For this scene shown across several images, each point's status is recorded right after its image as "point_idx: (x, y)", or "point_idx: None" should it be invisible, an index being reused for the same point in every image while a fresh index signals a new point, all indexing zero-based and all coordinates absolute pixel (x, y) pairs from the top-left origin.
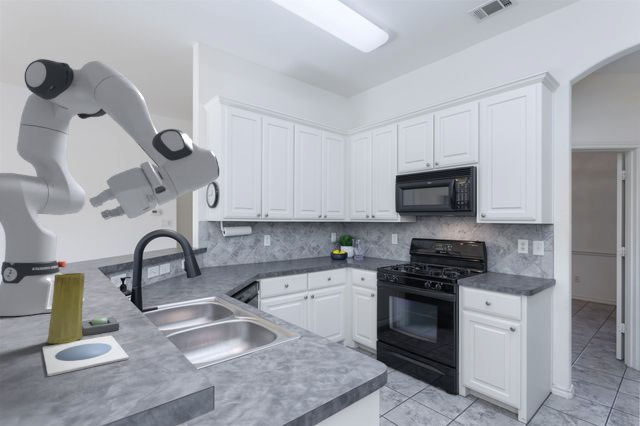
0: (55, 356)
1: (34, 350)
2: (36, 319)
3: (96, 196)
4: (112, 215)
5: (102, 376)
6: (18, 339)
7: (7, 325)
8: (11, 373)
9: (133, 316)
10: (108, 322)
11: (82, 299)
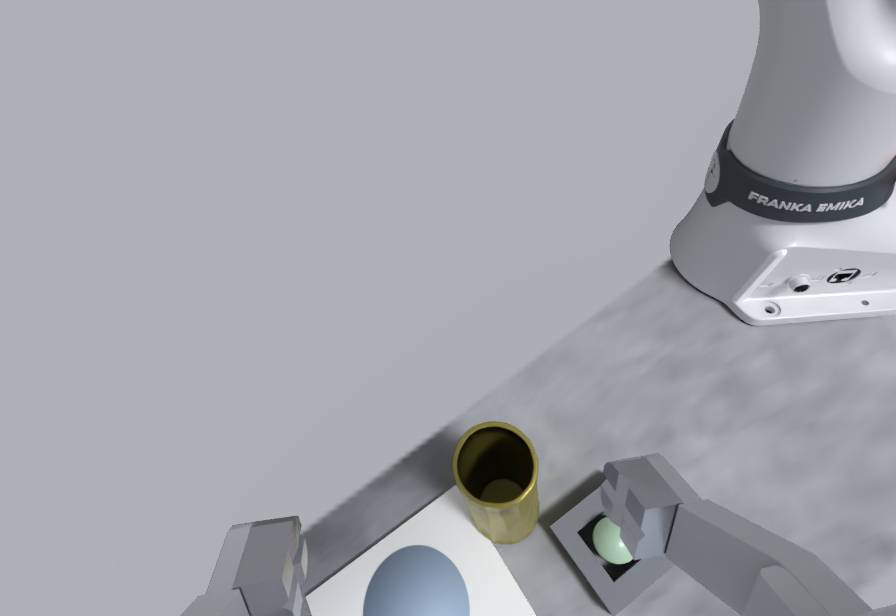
0: (391, 554)
1: (449, 474)
2: (669, 326)
3: (209, 584)
4: (671, 556)
5: None
6: (517, 395)
7: (610, 306)
8: (339, 513)
9: None
10: (639, 560)
11: (514, 521)
